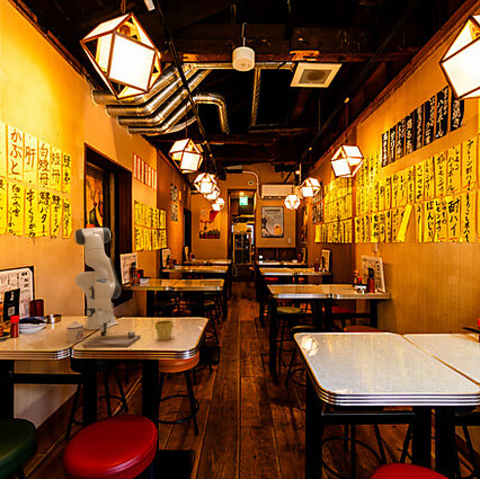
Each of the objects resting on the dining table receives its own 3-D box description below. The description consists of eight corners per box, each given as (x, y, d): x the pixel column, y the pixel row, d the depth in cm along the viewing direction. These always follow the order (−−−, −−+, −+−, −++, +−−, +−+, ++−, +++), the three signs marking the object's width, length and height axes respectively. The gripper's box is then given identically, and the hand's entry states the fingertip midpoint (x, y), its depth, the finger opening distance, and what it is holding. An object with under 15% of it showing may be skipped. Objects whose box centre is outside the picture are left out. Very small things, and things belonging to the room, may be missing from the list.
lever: (135, 335, 199) (135, 321, 199) (133, 337, 195) (133, 322, 195) (102, 337, 198) (101, 322, 198) (99, 339, 194) (99, 324, 194)
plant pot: (164, 342, 190) (164, 324, 190) (151, 339, 195) (151, 323, 196) (177, 337, 199) (176, 321, 199) (164, 335, 204) (163, 319, 204)
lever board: (99, 338, 203) (99, 335, 203) (140, 337, 200) (140, 335, 200) (82, 347, 185) (82, 344, 185) (127, 347, 182) (127, 343, 182)
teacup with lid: (78, 343, 193) (77, 323, 193) (63, 343, 194) (63, 323, 194) (89, 337, 205) (89, 318, 205) (76, 337, 206) (75, 318, 206)
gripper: (101, 309, 186) (102, 334, 186) (114, 303, 207) (115, 326, 206) (90, 310, 186) (90, 335, 186) (104, 304, 207) (104, 326, 206)
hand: (103, 330), depth 196 cm, fingers open, 3 cm apart
